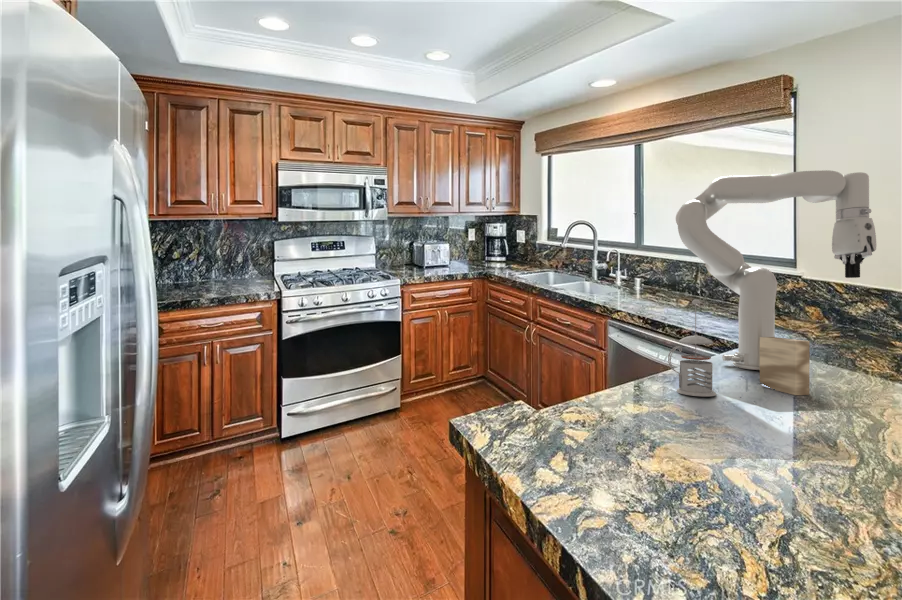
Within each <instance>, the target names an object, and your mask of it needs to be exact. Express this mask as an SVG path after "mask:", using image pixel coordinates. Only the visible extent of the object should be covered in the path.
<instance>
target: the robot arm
mask: <svg viewBox="0 0 902 600" xmlns="http://www.w3.org/2000/svg"><path fill="white" fill-rule="evenodd" d="M799 197H802V199H804V200H805V201H807V202H809V203H811V204H813V203H815V204H817V203H824V202H829V201H835V222H834V224H833V228H832V237H831V251H832V253H833V254H834V256H833V257H834V258H833V259H835V260H839V261H840V262H842V265H844V278H847V279H850V278H851V279H857V278H860V277H861V264H863V261H864V259H865V258H868V257H869V258H870V257H871V256H873V253H874V252H875V251H876V250H877V235H876V227H875V223H874V220H873V218H872V217H870V214H871V213H872V209H871V208H870V176H869V174H868V173H866V172H850V173H845V174H842V173H840V172H838V171H835V170H828V169H827V170H826V169H825V170H824V169H823V170H803V171H801V170H800V171H792V172H786V173H783V172H782V173H775V174H767V175H766V174H764V175H733V176H732V175H729V176H728V175H727V176H720V177H718V178H715V179H714V180H713V181H711V183H709V185H708V186H707V187H706V188H705V189H704V190H703V191H701V192H700V194H698V195H696V197H694V198H693V199H692V200H689V201H686V202H685V203H683V204H682V205H681V207H680V208H679V209H678V211H677V212H676V215H675V223H676V224H677V231H678V235H679V238H680V240H681V242H682V244H683V245H684V246H685V247H686V248H687V249H688V250H689V251H690V252H691V253H693V254H694V255H695V257H697V258H699V259H700V260H701V261H703V262H704V264H705V268H706V270H707V271H708V273H709V274H710V275H711V276H713V278H715V279H716V280H718V282H720V283H722V284H723V285H724V286H726V287H727V288H729V289H730V290H731V291H732V292H734V293H735V294H737V295H739V300H738V315H737V316H738V351H735V352H734V353H733V354H723V355H722V358H721V359H722V361H723V362H732V365H733V364H734V365H735V366H734V365H733V366H734V367H736V366H737V367H736V368H738V367H739V369H744V370H752V371H753V370H756V371H760V337H776V335H775V331H776V329H775V328H776V327H775V326H776V325H775V324H776V322H775V321H776V320H775V319H776V318H775V317H776V316H775V315H776V314H775V310H776V309H775V308H776V307H775V306H776V296H777V291H778V290H777V289H778V281H777V279H776V276H775V275H774V273H773V272H772V271H770V269H767V268H765V267H759V266H755V267H752V266H750V265H749V264H748V263H747V262H745V258H744V255H743V254H742V253H741V251H739V250H738V249H737V248H736V247H734V246H732V245H730V244H729V243H727V242H726V241H725V240H724V239H722V238H721V237H719V236H718V235H717V234H715V233H714V232H713V231H712V230H711V228H710V227H709V226H708V223H707V220H709V219H710V218H711V217H713V216H714V215H715V214H717V213H719V211H720V210H721V209H723V208H724V207H726V205H728V204H769V203H774V202H777V201H781V200H784V199H790V198H799Z"/></svg>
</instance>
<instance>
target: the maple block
mask: <svg viewBox="0 0 902 600" xmlns="http://www.w3.org/2000/svg"><path fill="white" fill-rule="evenodd" d="M810 342H811V341H810V340H803V339H795V338H794V339H793V338H785V337H777V336H775V337H760V370H759V383H760V384H764V385H766V386H768V387H770V388H772V389H771V390H773V389H775V390H774V391H777V392H781V393H785V394H790V395H793V396H809V395H810V357H811V356H810Z"/></svg>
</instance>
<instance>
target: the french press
mask: <svg viewBox="0 0 902 600" xmlns="http://www.w3.org/2000/svg"><path fill="white" fill-rule="evenodd" d="M700 303H701V301H700V300H699V299H695V298H694V299H693V300H692V301H691V304H693V305H694V306H695V307H694V311H695V313H694V318H695V321H694V322H695V323H694V324H695V325H694V326H695V328H694V330H695V332H694V333H695V334H694V335H688V336H685V337H683V338H681V339H679V343H680V344H685V345H688V344H689V345H695V348H694V349H695V350H694V351H695V353H694V354H689V353H688V354H687V353H686V354H682V355H681V356H680V357H681V358H682V359H684V360H679V371H677V370H675V369H674V367H673V365H672V356H673V353H674V352H675V351H676V350H677V349H678V351H679V352H680V353H681V352H682V350H683V348H682V346H680V345H677V346H674V347H673V348H672V349H671V350H670V351H669V353H668V356H667V357H668V359H667V362H668V366H669V367H670V369H671V370H672V371H673V372H675V373H677V374H678V388H676V391H675V392H676V393H678V394H681V395H686V396H693V397H715V396H717V395H718V394H717V393H716V392H715V390H713V362H712V361H707V360H711V359H712V357H711V356H709V355H704V354H697V345H712V344H713V343H714V341H713V340H711V339H709V338H707V337H705V336H702V335H698V334H697V305H698V304H700ZM702 370H703V371H702ZM690 374H691V375H690ZM690 379H691V380H690Z"/></svg>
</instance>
